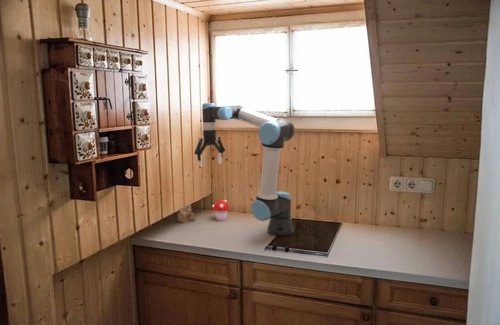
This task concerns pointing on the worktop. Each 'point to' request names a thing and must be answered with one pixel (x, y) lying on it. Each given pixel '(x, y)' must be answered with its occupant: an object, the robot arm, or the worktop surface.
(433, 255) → the worktop surface
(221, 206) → the mushroom
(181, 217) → the tower base
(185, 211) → the tower top
